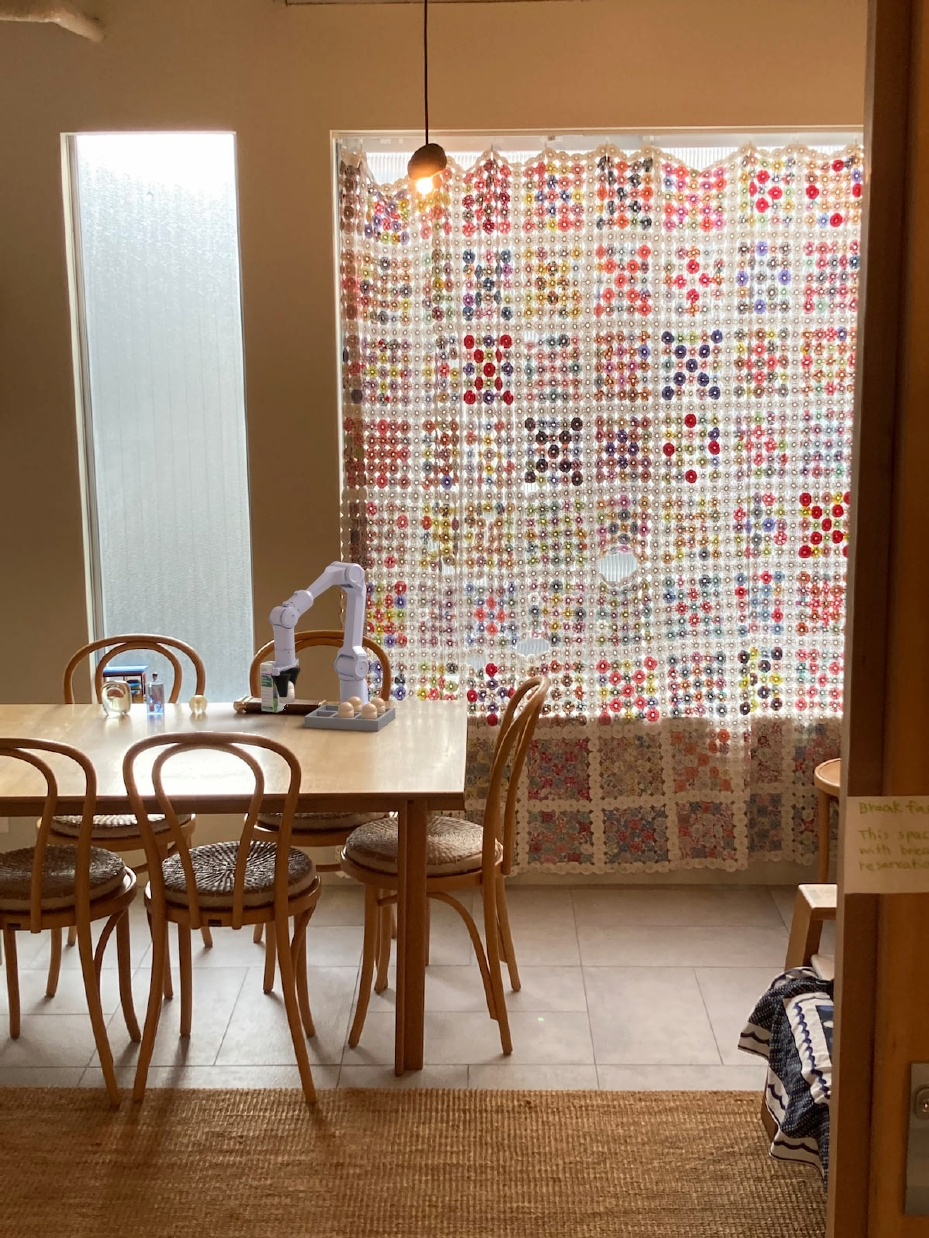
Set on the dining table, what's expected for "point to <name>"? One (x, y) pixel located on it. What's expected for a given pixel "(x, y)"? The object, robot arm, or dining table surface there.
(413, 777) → the dining table surface
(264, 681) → the syrup box
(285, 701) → the white egg
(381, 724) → the egg carton
